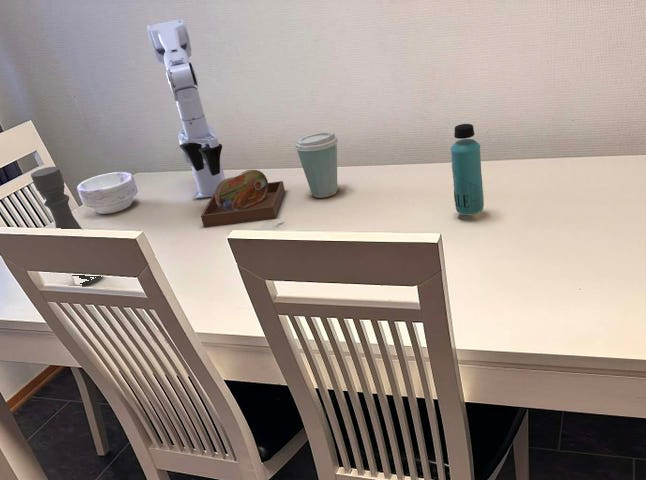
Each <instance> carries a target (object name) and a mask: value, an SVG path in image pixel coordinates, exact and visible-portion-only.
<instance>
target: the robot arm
mask: <svg viewBox="0 0 646 480" xmlns="http://www.w3.org/2000/svg"><path fill="white" fill-rule="evenodd" d="M146 31H147V35H148V39H149V42H150V45H151V49H152V51H153V54H154V57H155V59H156V60H157V62H158V63H161V64H163V65H165V68H166V69H165V74H166V78H167V81H168V85H169V89H170V91H171V93H172V95H173V98H174V101H175V102H176V106H177V109H178V114H179V117H180V121H181V124H182V129H181V130H180V131H179V132H178V136H177V137H178V141H179V148H180V149H181V153H182V157H183V159H184V160H183V161H184V162H185V163H186V164H188V165H190V167H191V171H192V173H193V177H194V181H195V184H196V187H197V191H198V192H197V194H196V195H195V196H194V198H195V199H196V200H197V199H198V200H199V199H204V198H205V199H206V198H212V196H213V194H214V193H215V189H216V187H217V185H218V184H219V183H220V182H221V181H223V180H225V179H226V176H225V173H224V169H223V166H222V162H221V153H222V150H223V144H222V143H219V140H218V137H217V135H216V133H215V129H214V128H213V126H211V125H210V124H208V122H207V119H206V115H205V112H204V108H203V104H202V100H201V96H200V92H199V89H198V88H199V81H198V77H197V73H196V70H195V66H194V65H193V62H192V61H191V60H190V59H189V58H190V57H191V56H192V47H191V39H190V36H189V31H188V28H187V24H186V22H185V20H184V19H183V18H179V19H175V20H171V21H165V22H160V23H155V24H147V27H146Z"/></svg>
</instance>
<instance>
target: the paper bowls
mask: <svg viewBox="0 0 646 480" xmlns="http://www.w3.org/2000/svg"><path fill="white" fill-rule="evenodd" d="M76 189H77V190H76V191H77V192H78V195H79V198H80V201H81V203H82V205H83V206H84V207H86V208H91V209H92V210H93V211H94V212H95V213H97V214H100V215H101V214H102V215H106V214H107V215H108V214H114V213H118V212H121V211H124V210H125V209H127V208H129V207H130V206H131V205H133V204H132V203H133V199H134V197H136V196H137V194H138V192H139V191H138V187H137V184H136V181H135V177H134V175H133V173H130V172H128V171H127V172H126V171H115V172H109V173H103V174H99V175H96V176H92V177H90V178H88V179H85V180H83V181H82V182H80V183H79V184H78V185H77V187H76Z"/></svg>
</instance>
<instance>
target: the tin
mask: <svg viewBox="0 0 646 480" xmlns="http://www.w3.org/2000/svg"><path fill="white" fill-rule="evenodd" d="M268 181H269V180H268V178H267V177H266V175H265V174H264V172H262V171H260V170H258V169H246V170H244V171H242V172H239V173H237V174H235V175H232V176H229V177H228V178H225V180H223V181H221V182H220V183H219V184H218V185H217V187H216V189H215V200H216V203H217V205H218V207H219V208H220V209H222V210H224V211H226V212H230V211H237V210H243V209H246V208H248V207H250V206H252V205H255V204H257V203H259V202H261V201H262V200H263V199H264V198H265V197H266V195H267V192H268V183H269V182H268Z"/></svg>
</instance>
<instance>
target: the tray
mask: <svg viewBox="0 0 646 480" xmlns="http://www.w3.org/2000/svg"><path fill="white" fill-rule="evenodd" d="M285 193H286V190H285V185H284V181H283V180H280V181H270V182H268V192H267V195H266V197H265V198H264V199H263V200H262V201H261V202H259V203H257V204H255V205H252V206H250V207H248V208H246V209H243V210H237V211H230V212H226V211H224V210H222V209H220V208H219V207H218V205H217V203H216V200H215V193H214V194H213V196H212V197H210V199H209V201H208V202H207V204H206V206H205V208H204V210H203V211H202V213H201V215H200V218H201V223H202V225H203V226H202V227H203V228H208V227H217V226H225V225H232V224H239V223H247V222H249V223H250V222H256V221H265V220H272V219H276V218H277V215H278V212H279V209H280V206H281V204H282V201H283V198H284V196H285Z"/></svg>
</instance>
